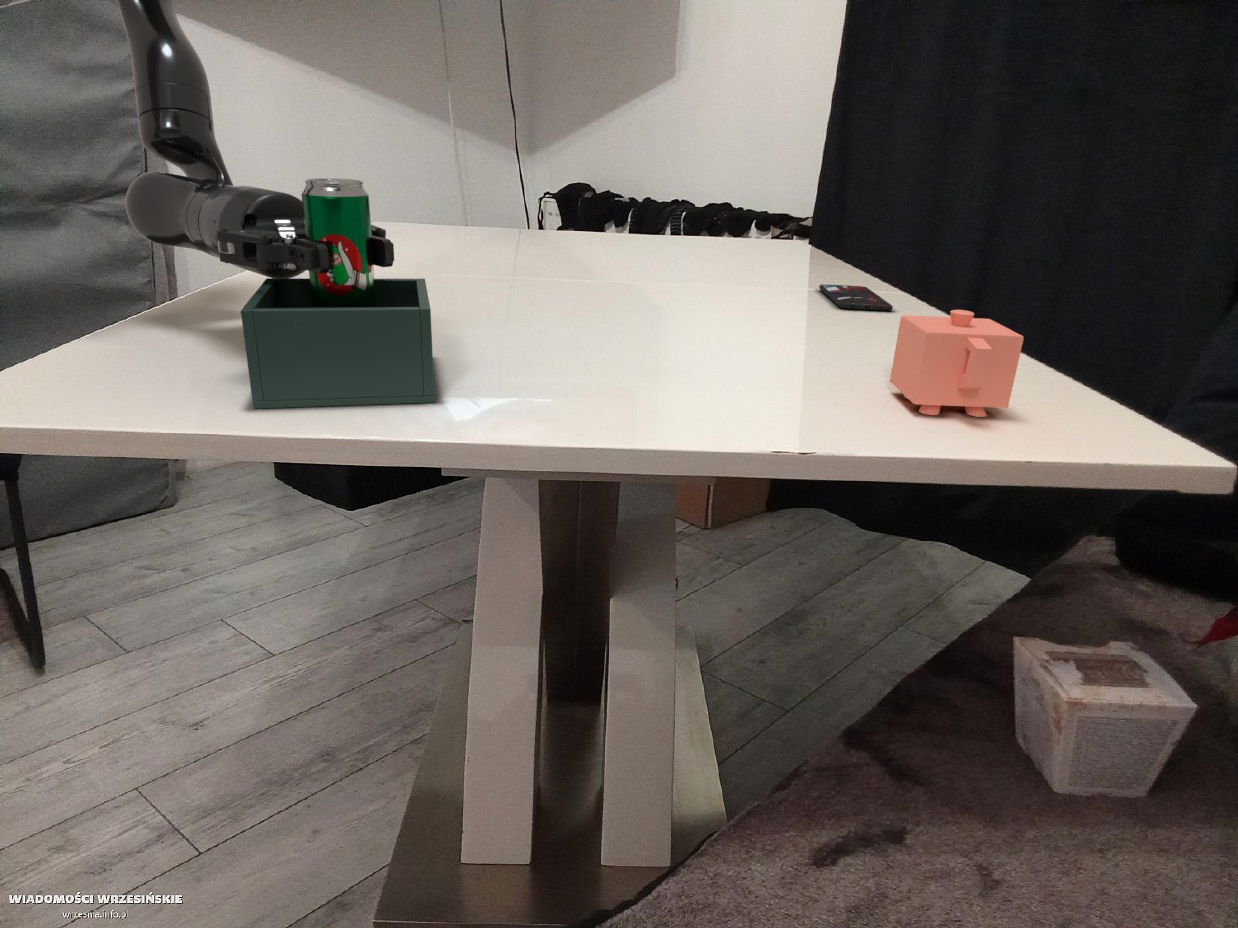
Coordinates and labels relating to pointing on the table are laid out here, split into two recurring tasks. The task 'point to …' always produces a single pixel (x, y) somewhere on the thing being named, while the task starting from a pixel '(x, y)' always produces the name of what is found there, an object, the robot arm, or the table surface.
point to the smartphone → (855, 297)
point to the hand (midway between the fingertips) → (357, 256)
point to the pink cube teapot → (955, 362)
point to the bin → (338, 347)
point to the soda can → (340, 242)
